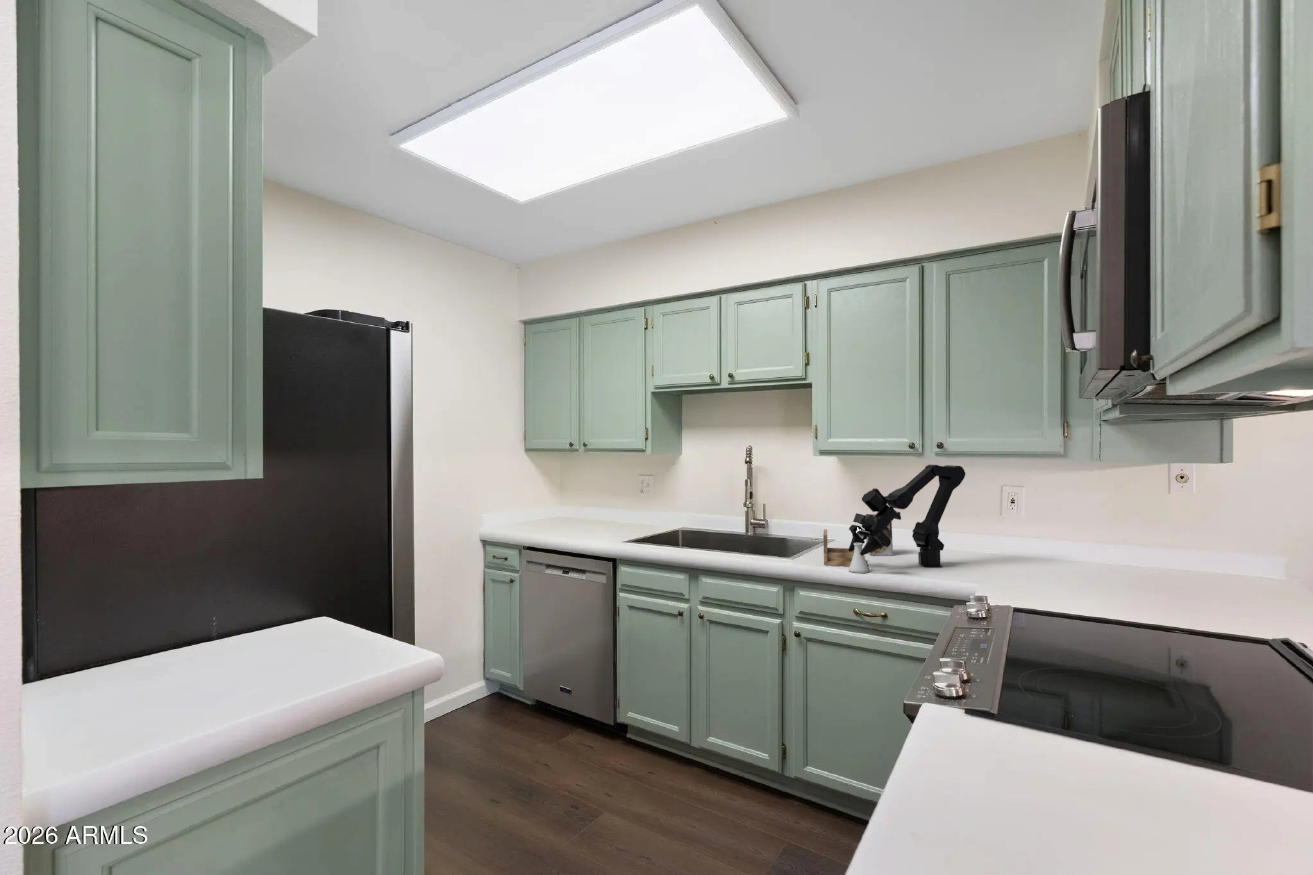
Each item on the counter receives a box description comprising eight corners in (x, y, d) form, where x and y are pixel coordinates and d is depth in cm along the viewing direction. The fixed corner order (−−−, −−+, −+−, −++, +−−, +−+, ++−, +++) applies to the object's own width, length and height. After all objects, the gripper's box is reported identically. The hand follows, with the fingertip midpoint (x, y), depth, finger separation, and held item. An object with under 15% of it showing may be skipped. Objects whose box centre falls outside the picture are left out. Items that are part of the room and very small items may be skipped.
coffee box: (888, 552, 246) (887, 513, 246) (893, 555, 240) (892, 515, 240) (865, 552, 247) (864, 513, 247) (869, 555, 241) (868, 515, 241)
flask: (851, 568, 219) (851, 541, 219) (872, 570, 215) (871, 542, 215) (845, 572, 213) (844, 544, 213) (866, 574, 209) (865, 545, 209)
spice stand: (864, 559, 234) (863, 530, 234) (866, 567, 220) (865, 535, 220) (824, 558, 238) (823, 529, 238) (824, 565, 224) (823, 534, 224)
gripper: (852, 502, 224) (826, 534, 221) (882, 508, 206) (854, 542, 203) (872, 522, 226) (846, 554, 223) (903, 529, 208) (875, 563, 205)
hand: (854, 552), depth 213 cm, fingers open, 7 cm apart
